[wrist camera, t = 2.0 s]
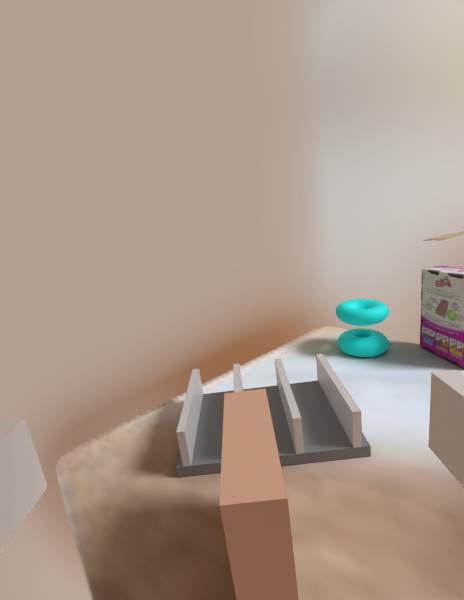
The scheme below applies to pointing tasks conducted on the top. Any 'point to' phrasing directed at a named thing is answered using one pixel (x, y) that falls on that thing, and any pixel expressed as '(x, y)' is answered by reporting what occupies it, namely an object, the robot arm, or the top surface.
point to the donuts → (362, 339)
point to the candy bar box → (443, 313)
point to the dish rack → (275, 421)
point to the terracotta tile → (255, 501)
